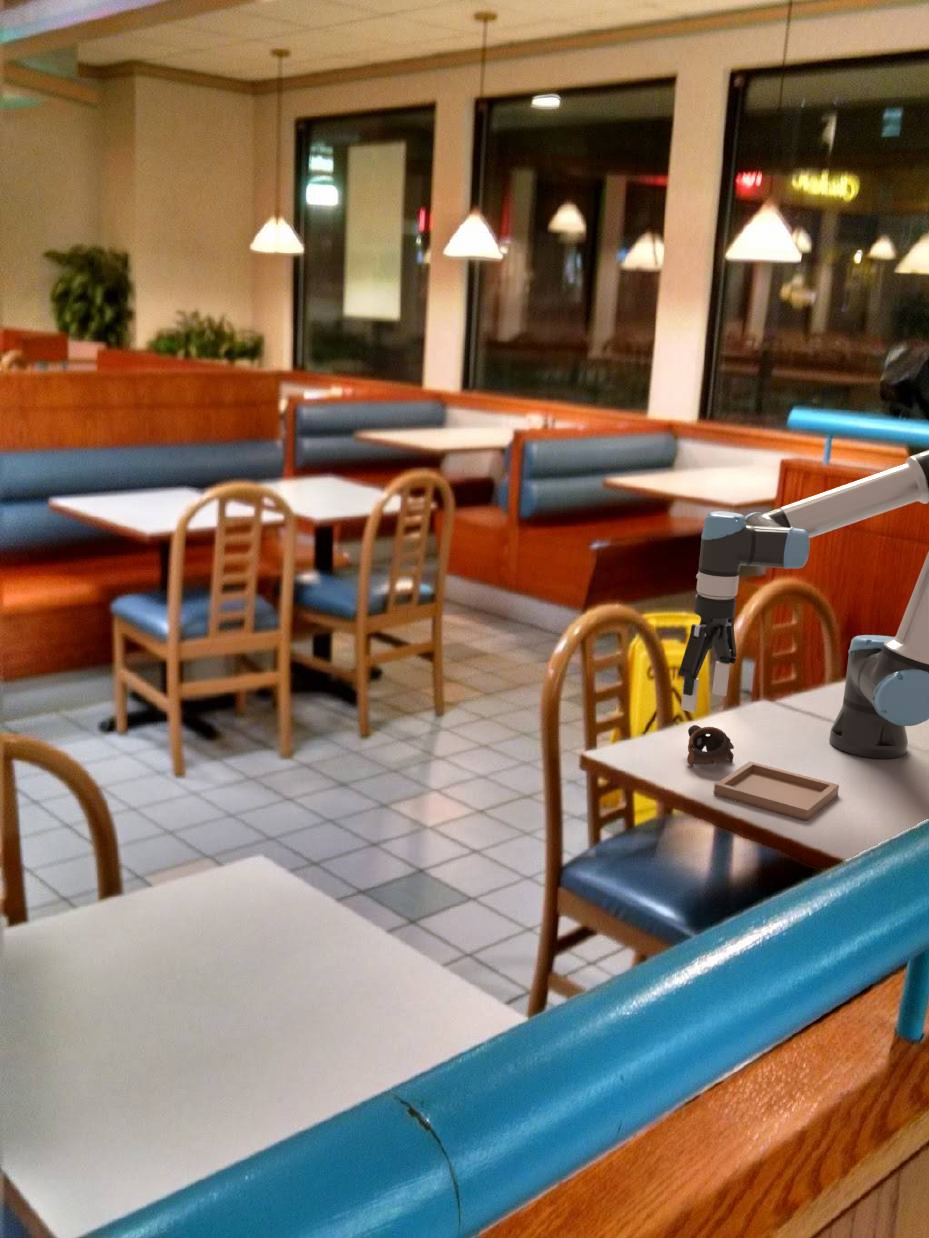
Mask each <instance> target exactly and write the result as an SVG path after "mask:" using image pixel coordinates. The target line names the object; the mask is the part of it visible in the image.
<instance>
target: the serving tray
mask: <svg viewBox="0 0 929 1238" xmlns="http://www.w3.org/2000/svg"><path fill="white" fill-rule="evenodd" d="M713 787H714V788H713V795H714V794H715V795H714V796H717V795H719V796H718V797H721V796H722V797H721V798H723V799H724V798H725V799H727V800H730V801H731V800H732V801H735V800H736V801H735V802H738V801H739V802H738V803H741V802H743V804H745V803H746V804H745V805H748V804H749V805H748V806H752V807H756V808H760V809H763V810H767V811H769V812H773V813H776V812H777V814H781V815H784V816H787V817H791V818H794V819H798V820H801V821H805V822H807V821H809V820H810V819H811V818H812V817H813V816H815V815H816V814H817V813H818V812H819V811H820V810H822V809H823V808H824V807H826V805H828V803H830V802H831V801H833V800H834V799H835V798H837V796H838V795H839V790H840V788H839V787H840V785H839V784H836V783H833V782H829V781H826V780H821V779H818V778H814V777H810V776H806V775H802V774H800V773H795V772H791V771H789V770H784V769H781V768H780V769H779V768H777V767H772V766H770V765H769V766H768V765H766V764H761V763H757V762H755V761H750V760H749V761H748V762H746V763H745V764H743V765H741V766H740V767H738V769H735V770H733V772H731V773H729V774H728V775H727V776H725V777H724V778H722V779H721V780H719V781H717V782H716V783H714V786H713Z"/></svg>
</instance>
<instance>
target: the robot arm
mask: <svg viewBox="0 0 929 1238" xmlns="http://www.w3.org/2000/svg"><path fill="white" fill-rule="evenodd" d="M916 502H920V503H921V504H923V505H924V504H929V449H927V450H924V451H921V452H919V453H917V454H916V453H915V454H913V455H911V456H908V457H907V459H906V461H905V463H904V464H901V465H898V466H895V467H892V468H889V469H887V470H886V469H885V470H884V471H881V472H878V473H875V474H873V475H869V476H867V477H864V478H861V479H858V480H855V481H853V482H849V483H847V484H845V485H841V486H838V487H835V488H832V489H830V490H827V491H824V492H821V493H819V494H815V495H813V496H810V497H807V498H804V499H801V500H799V501H795V502H792V503H790V504H787V505H784V506H781V507H780V508H776V509H773V510H770V511H766V512H761V511H759V512H758V511H755V512H750V513H749V514H747V515H743V514H741V513H738V512H731V511H730V512H729V511H718V510H717V511H711V512H709V513H707V514H705V517H704V522H703V528H702V533H701V535H700V536H701V538H700V539H701V541H700V552H699V553H700V554H699V563H698V572H697V574H696V575H695V578H696V579H697V581H696V591H697V594H695V599H694V607H693V612H694V614H696V616H699V618H700V620H699V624H694V623H693V624H692V625H691V626H690V633H689V638H688V641H687V644H686V646H685V651H684V653H683V658H682V661H681V663H680V667H679V670H678V676H679V677H683V685H682V694H681V703H680V704H681V705H680V710H682V711H685V712H686V711H687V712H689V713H692V714H693V713H696V712H697V711H696V710H697V701H698V692H699V683H700V678H698V675H699V674H700V671H701V669H702V667H703V664H704V663H705V660H706V657H707V654H708V652H709V651H710V650H711V649H713V648H714V650H715V651H714V652H715V653H716V657H717V659H718V661H715V665H714V673H713V674H714V675H713V683H712V692H711V693H712V694H713V695H716V696H720V697H723V698H724V697H726V696H727V695H728V686H729V685H728V684H729V677H730V668H731V664H734V665H735V663H736V661H737V659H736V657H737V647H736V646H737V645H736V637H735V629H734V628H735V627H734V623H735V614H736V613H735V612H736V606H737V605H736V604H737V603H736V602H737V599H736V596H737V595H738V589H739V581H740V568H741V566H746V567H761V568H762V567H765V568H775V569H776V568H777V569H778V568H779V569H784V570H788V569H801V568H803V567H805V565H806V564H807V562H808V559H809V557H810V556H809V555H810V549H811V548H810V545H811V544H810V543H811V541H810V539H812V538H815V537H816V536H820V535H822V534H825V533H828V532H831V531H834V530H836V529H840V528H843V527H846V526H849V525H852V524H854V523H858V522H860V521H864V520H866V519H868V518H873V517H875V516H877V515H881V514H883V513H887V512H889V511H893V510H896V509H899V508H901V507H904V506H907V505H910V504H913V503H916ZM916 580H917V581H916V583H915V585H914V589H913V591H912V594H911V597H910V598H909V601H908V604H907V606H906V608H905V612H904V614H903V616H902V620H901V621H900V625H899V627H898V629H897V632H896V634H895V636H890V635H878V634H877V635H876V634H871V635H870V634H863V635H856V636H854V637H853V638H852V639H851V641H850V646H849V649H848V652H847V653H848V660H847V665H846V666H847V669H846V676H845V684H844V692H843V702H842V706H841V708H840V710H839V712H838V714H837V716H836V719H835V720H834V722H833V724H832V726H831V728H830V733H829V739H828V741H829V743H830V745H832V746H833V747H834V748H835V749H837V750H840V751H842V752H845V753H848V754H851V755H854V756H859V757H863V758H864V757H865V758H871V759H895V758H896V759H897V758H900V757H902V756H904V755H906V754H907V750H908V745H909V744H908V743H909V741H908V734H907V731H906V727H913V726H918V725H920V724H922V723H925V722H927V721H928V720H929V551H928V552H927V554H926V557H925V560H924V563H923V566H922V568H921V570H920V573H919V575H918V578H917V579H916Z"/></svg>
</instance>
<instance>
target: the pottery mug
mask: <svg viewBox="0 0 929 1238" xmlns="http://www.w3.org/2000/svg"><path fill="white" fill-rule="evenodd" d="M687 732H688V737H689V739H688V745H687V752H688V755H687V758H686V760H687V761H686V762H687V764H688V765H689V766H690V767H691V768H692V767H693V766H694V765H710V766H711V765H713V764H714V763H716V764H717V763H719V762H720V761H722V760H728V761H729V762H730V763H733V762H734V761H733V760H734V753H733V752H732V750H734V749H735V747H734V744H733V743H732V742H731V739H730V737H729V736H728V735H727V734H726V733H725V731H723V730H722V729H720V728H718V727H714V726H704V727H701V726H699V725H697V724H693V725H691V726H689V728H688V730H687ZM704 748H705V750H706V751H704Z"/></svg>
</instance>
